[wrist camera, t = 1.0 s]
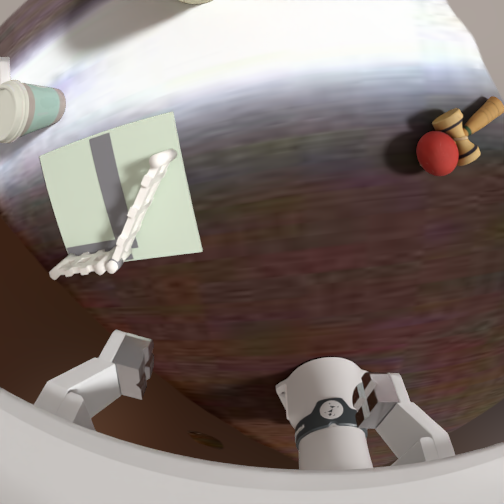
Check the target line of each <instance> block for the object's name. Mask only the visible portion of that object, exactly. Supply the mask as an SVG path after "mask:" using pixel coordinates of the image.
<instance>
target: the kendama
mask: <svg viewBox="0 0 504 504" xmlns="http://www.w3.org/2000/svg"><path fill="white" fill-rule="evenodd" d="M503 112H504V106H503V104H502V102H501V101H500V100H499V99H498V98H496V97H490V98H489V99H488V100H487V102H486V103H485V104H484V105H483V106H482V107H481V108H480V109H479V110H478V111H477V112H476V113H475V114H474V115H473V116H472V117H471V118H470V119H469V120H468V121H467V123H466V124H465V125H464V126H463V127H462V119H463V114H462V113H461V111H460V110H459V109H458V108H455V109H452V110H450V111H448V112H446V113H444V114H442V115H441V116H439V117H438V118H436V119H435V120H434V121H433V122H432V125H433V127H434V129H435V130H436V131H431V132H428V133H426V134H425V135H423V136H422V137H421V139H420V140H419V142H418V144H417V149H416V153H417V158H418V161H419V163H420V166H422V167H423V169H424V170H426V171H427V172H428V173H430V174H432V175H435V176H444V175H447V174H449V173H450V172H452V171H453V170H454V168H455V167H456V165H457V166H463V165H466V164H469V163H471V162H473V161H474V160H476V159H477V158H478V157H479V156H480V150H479V148H478V146H477V145H475V144H473V143H471V142H470V141H469V140H468V136H469V135H471V134H473V133H475V132H476V131H478V130H480V129H481V128H483V127H484V126H486V125H487V124H488V123H490V122H491V121H492V120H494V119H495V118H496V117H498V116H500V115H501V114H502V113H503Z"/></svg>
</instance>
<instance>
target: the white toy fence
mask: <svg viewBox="0 0 504 504" xmlns="http://www.w3.org/2000/svg"><path fill="white" fill-rule="evenodd" d="M176 157H177V151H176V150H175V149H173V148H170V149H167V150H165V151H162V152H160V153H157V154H155V155H152V156H151V157H150V159H149V164H150V166H151V167H150V169H149V171H148V173H147V174H146V175H144V177H143V180H142V182H141V185H142V186H141V188H140V190H139V193H138V195H137V197H136V200H135V202H134V204H133V206H132V207H130V209H129V212H128V214H127V216H128V218H127V221H126V223H125V226H124V228H123V231H122V233H121V235H120V236H119V237H118V239H117V242H116V245H117V246H116V249H115V252H114V254H113V257H112V258H111V259H110V260H109V261H108V263H107V264H106V270H107V271H108V272H109V273H115V271H117V270H118V269H119V268H120V267H121V266H122V264H123V262H124V261H125V260H126V259H127V258H128V257H129V255H130V254H131V253H132V248H131V246H132V243H133V241H134V239H135V236H136V234H137V232H138V231H139V230H140V228H141V225H142V224H141V223H142V220H143V218H144V216H145V214H146V211H147V209H148V207H149V206H150V205H151V203H152V201H153V199H154V198H153V196H154V194H155V192H156V190H157V188H158V186H159V184H160V182H161V180H162V178H164V176H165V174H166V172H167V167H168V165H169V164H170V162H171V161H172V160H174V159H176Z"/></svg>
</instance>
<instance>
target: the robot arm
mask: <svg viewBox="0 0 504 504" xmlns="http://www.w3.org/2000/svg"><path fill="white" fill-rule="evenodd" d="M153 348H154V343H153V340H151V339H148V338H144V337H140V336H137V335H133V334H130V333H125V332H122V331H119V330H115V331H114V332H113V333H112V335H111V337H110V338H109V340H108V342H107V344H106V345H105V347H104V349H103V350H102V352H101V354H100V356H99V358H93V359H91V360H89V361H87V362H85V363H83V364H81V365H79V366H77V367H75V368H73V369H71V370H69V371H67V372H65V373H63V374H61V375H59V376H57V377H55V378H53V379H52V380H50V381H48V382H47V383H46V385H45V387H44V388H43V390H42V392H41V393H40V395H39V397H38V399H37V400H36V402H35V404H34V405H33V404H31V403H28V402H27V401H25V400H23V399H21V398H19V397H17V396H15V395H13V394H11V393H10V392H8V391H6V390H4V389H2V388H1V387H0V504H504V442H502V443H499V444H496V445H492V446H489V447H486V448H482V449H479V450H475V451H471V452H467V453H463V454H459V455H455V453H454V450H453V447H452V444H451V441H450V438H449V436H448V433H447V432H446V431H444V430H443V429H442V428H441V427H440V426H439V425H438V424H437V423H436V422H434V421H433V420H432V419H431V418H430V417H429V416H428V415H427V414H426V413H424V412H423V411H422V410H421V409H420V408H419V407H418V406H417V405H416V404H415V403H413V402H410V400H409V397H408V394H407V391H406V389H405V386H404V383H403V381H402V378H401V376H400V374H399V373H378V372H368V371H365V370H362V369H360V368H359V367H358V366H357V365H356V364H355V363H353V362H351V361H349V360H347V359H344V358H338V357H325V358H319V359H315V360H312V361H309V362H307V363H305V364H303V365H301V366H300V367H298V368H297V369H296V370H294V371H293V372H292V374H291V375H290V376H289V377H288V378H287V379H286V380H284V381H282V382H280V383H278V384H277V385H276V392H277V394H278V396H279V398H280V400H281V402H282V404H283V406H284V407H285V409H286V416H287V419H288V420H289V421H290V423H291V425H292V426H293V427H294V429H295V442H296V447H297V449H298V450H299V470H291V469H273V468H262V467H251V466H242V465H234V464H227V463H220V462H214V461H208V460H202V459H196V458H191V457H186V456H181V455H177V454H172V453H168V452H163V451H160V450H156V449H151V448H148V447H144V446H141V445H137V444H133V443H130V442H127V441H124V440H120V439H117V438H114V437H111V436H108V435H105V434H102V433H99V432H97V431H96V430H95V428H94V426H93V423H92V421H91V418H92V417H93V416H94V415H95V414H97V413H98V412H100V411H101V410H102V409H104V408H105V407H106V406H108V405H109V404H110V403H112V402H113V401H114V400H115V399H117V398H118V397H120V396H121V394H122V395H125V396H129V397H133V398H137V399H141V400H142V398H143V396H144V393H145V390H146V388H147V384H146V380H147V379H149V378H150V377H151V373H152V370H153V366H154V355H153V353H152V350H153ZM367 428H376V429H375V430H376V431H377V432H378V433H379V435H380V436H381V437H382V438H383V440H384V441H385V442H386V444H387V445H388V446H389V447H390V449H391V450H392V451H393V452H394V454H395V455H396V456H397V457H398V460H397V461H396V462H395V463H393V464H392V465H391V466H388V467H378V468H373V466H372V462H371V459H370V455H369V451H368V446H367V442H366V438H367Z"/></svg>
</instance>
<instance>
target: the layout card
mask: <svg viewBox="0 0 504 504" xmlns="http://www.w3.org/2000/svg"><path fill="white" fill-rule="evenodd" d="M170 148H173V149H175V150H176V151H177V157H176V159H174V160H172V161H171V162H170V164H169V165H168V167H167V172H166V174H165V176H164V178H162V180H161V182H160V184H159V186H158V188H157V190H156V192H155V194H154V196H153V198H154V199H153V201H152V203H151V205H150V206H149V207H148V209H147V211H146V214H145V216H144V218H143V220H142V223H141V224H142V225H141V228H140V230H139V231H138V232H137V234H136V236H135V239H134V241H133V243H132V246H131V248H132V253H131V254H130V255H129V257H128V258H127V259H126V260H125V261H132V260H140V259H148V258H156V257H164V256H172V255H180V254H188V253H197V252H202V251H203V250H202V245H201V241H200V237H199V233H198V228H197V224H196V220H195V215H194V211H193V206H192V202H191V197H190V193H189V188H188V183H187V179H186V174H185V169H184V164H183V159H182V155H181V150H180V145H179V139H178V134H177V129H176V124H175V119H174V113H173V112H169V113H165V114H161V115H157V116H154V117H150V118H146V119H143V120H139V121H136V122H132V123H129V124H126V125H123V126H119V127H116V128H113V129H110V130H107V131H104V132H101V133H98V134H95V135H92V136H90V137H87V138H84V139H81V140H79V141H76V142H73V143H71V144H68V145H66V146H63V147H61V148H58V149H56V150H53V151H51V152H48V153H46V154H44V155H41V156H39V157H40V162H41V166H42V170H43V174H44V178H45V182H46V186H47V190H48V193H49V197H50V200H51V204H52V207H53V210H54V214H55V217H56V220H57V223H58V226H59V229H60V232H61V235H62V238H63V241H64V244H65V247H66V250H67V252H68V255H69V254H70V253H74V254H75V255H76V256H80V255H82V254H83V253H85V252H89V253H90V254H94V253H96V252H97V251H99V250H104V249H105V252H108V251H110V250H111V249H113V248H114V247H115V246H117V245H116V242H117V239H118V237H119V236H120V235H121V233H122V231H123V228H124V226H125V223H126V221H127V218H128V216H127V214H128V212H129V209H130V207H132V206H133V204H134V202H135V200H136V197H137V195H138V193H139V190H140V188H141V186H142V185H141V182H142V180H143V177H144V175H146V174H147V173H148V171H149V169H150V167H151V166H150V164H149V159H150V157H151V156H152V155H155V154H157V153H160V152H162V151H165V150H167V149H170Z"/></svg>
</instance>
